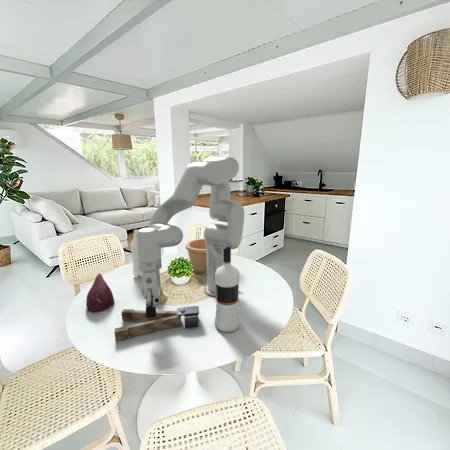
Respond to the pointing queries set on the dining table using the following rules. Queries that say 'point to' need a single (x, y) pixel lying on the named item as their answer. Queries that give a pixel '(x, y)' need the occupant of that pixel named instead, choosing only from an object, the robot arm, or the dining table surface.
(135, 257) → the water bottle
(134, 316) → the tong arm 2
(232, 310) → the vodka
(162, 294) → the hand bell
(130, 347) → the dining table surface
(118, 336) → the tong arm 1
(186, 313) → the hinge block
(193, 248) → the pottery
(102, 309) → the vegetable
